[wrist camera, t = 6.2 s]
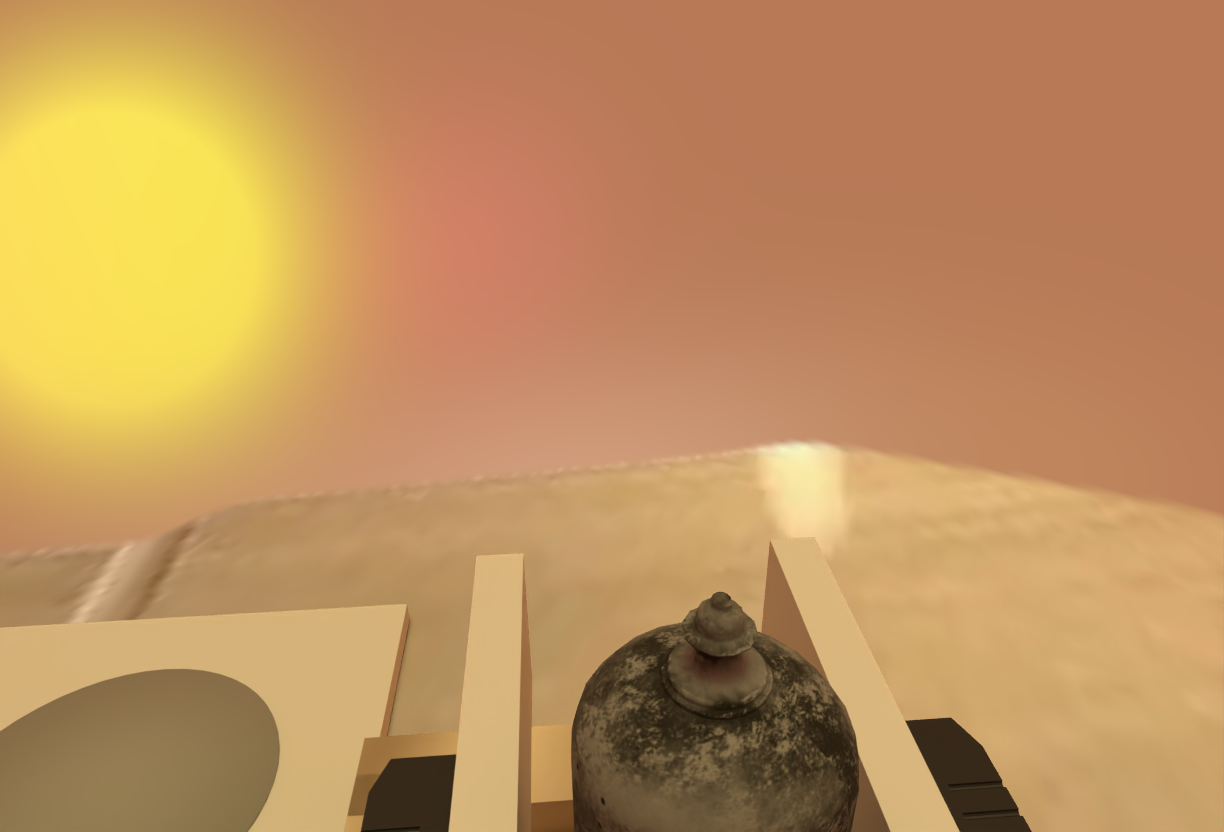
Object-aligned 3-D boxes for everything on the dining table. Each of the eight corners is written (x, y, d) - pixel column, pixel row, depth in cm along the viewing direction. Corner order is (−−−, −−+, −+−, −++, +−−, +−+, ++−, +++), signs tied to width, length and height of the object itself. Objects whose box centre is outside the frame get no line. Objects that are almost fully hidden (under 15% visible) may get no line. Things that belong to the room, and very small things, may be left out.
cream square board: (-441, 1164, 14) (-466, 1142, 13) (-15, 645, 24) (-24, 626, 24) (317, 1092, 15) (309, 1071, 14) (409, 619, 25) (406, 601, 25)
